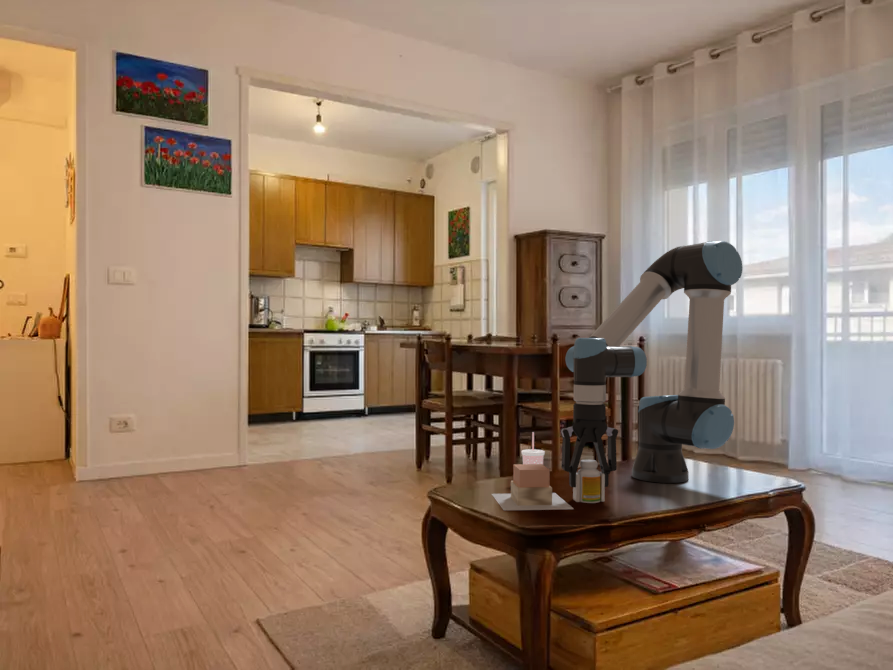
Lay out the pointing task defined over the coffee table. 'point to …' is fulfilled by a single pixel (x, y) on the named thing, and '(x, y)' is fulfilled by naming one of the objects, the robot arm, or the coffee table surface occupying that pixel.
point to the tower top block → (531, 475)
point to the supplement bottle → (589, 481)
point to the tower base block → (531, 495)
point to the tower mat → (509, 504)
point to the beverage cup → (532, 454)
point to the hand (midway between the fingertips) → (588, 500)
